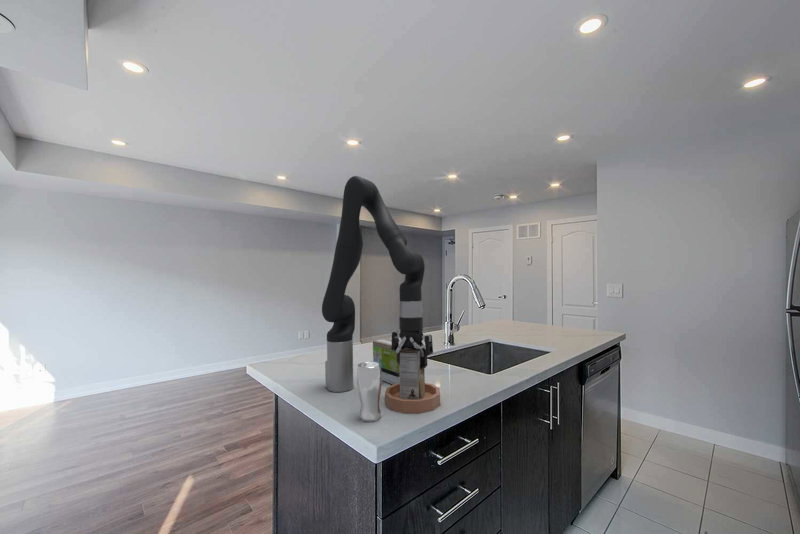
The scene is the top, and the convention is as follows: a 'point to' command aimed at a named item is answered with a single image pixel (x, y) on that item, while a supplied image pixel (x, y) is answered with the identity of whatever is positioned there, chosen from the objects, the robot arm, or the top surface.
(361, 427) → the top surface
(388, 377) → the tea box
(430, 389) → the terracotta dish
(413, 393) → the coffee box
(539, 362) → the top surface
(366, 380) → the beer glass
